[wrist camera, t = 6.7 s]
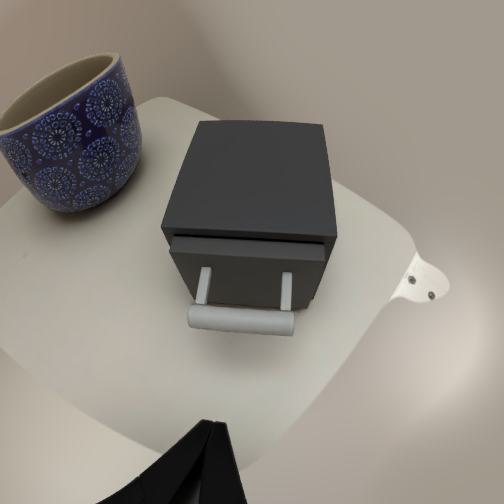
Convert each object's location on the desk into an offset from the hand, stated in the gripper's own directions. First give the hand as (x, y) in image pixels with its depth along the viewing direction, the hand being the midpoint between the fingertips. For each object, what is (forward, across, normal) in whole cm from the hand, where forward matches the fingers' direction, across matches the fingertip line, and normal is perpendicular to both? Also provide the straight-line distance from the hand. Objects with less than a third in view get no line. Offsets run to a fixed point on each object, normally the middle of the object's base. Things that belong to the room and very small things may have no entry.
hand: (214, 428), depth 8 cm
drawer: (+17, 0, 0) cm, 17 cm away
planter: (+26, +22, -8) cm, 35 cm away
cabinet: (+20, 0, -2) cm, 20 cm away
